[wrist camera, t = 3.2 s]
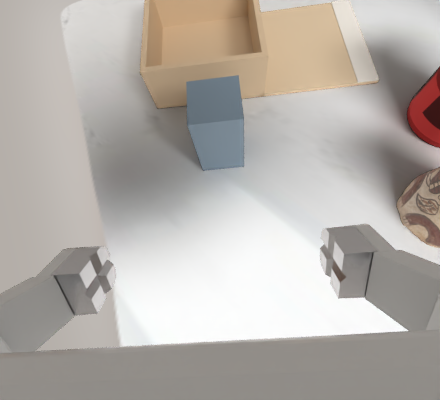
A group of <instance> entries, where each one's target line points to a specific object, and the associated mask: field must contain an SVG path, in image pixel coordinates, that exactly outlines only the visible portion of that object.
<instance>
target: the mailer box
mask: <svg viewBox="0 0 440 400" xmlns="http://www.w3.org/2000/svg"><path fill="white" fill-rule="evenodd" d="M140 73H141V75H142V78H143V80H144V82H145V84H146V86H147V88H148V90H149V92H150V94H151V96H152V98H153V100H154V102H155V105H156V107H157V109H160V108H169V107H177V106H186V105H187V90H186V82H188V81H196V80H204V79H212V78H220V77H228V76H236V75H239V82H240V91H241V99H245V98H254V97H262V96H271V95H279V94H288V93H297V92H305V91H314V90H322V89H331V88H339V87H348V86H356V85H365V84H373V83H378V81H379V77H378V74H377V72H376V69H375V66H374V64H373V61H372V58H371V56H370V53H369V50H368V48H367V45H366V42H365V40H364V37H363V34H362V32H361V29H360V26H359V24H358V21H357V18H356V16H355V13H354V10H353V8H352V5H351V2H350V0H341V1H334V2H331V3H325V4H318V5H310V6H303V7H296V8H289V9H282V10H275V11H267V12H261V11H260V5H259V0H145V3H144V18H143V33H142V48H141V63H140Z"/></svg>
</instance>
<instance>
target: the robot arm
mask: <svg viewBox="0 0 440 400" xmlns="http://www.w3.org/2000/svg"><path fill="white" fill-rule="evenodd" d="M321 239H322V241H323V243H324V245H323V246H322V247H321V248H320V260H321V265H322V268H323V270H324V272H325V274H326V275H328V276H329V277H331V282H330V284H331V286H332V287H333V289H334V291H335V293H336V295H337V297H338V298H360V297H365V299H366V300H368V301H369V302H370V303H372V304H373V305H375V306H376V307H377V308H379V309H380V310H381V311H383V312H384V313H385V314H387V315H388V316H390V317H391V318H392V319H394V320H395V321H396V322H398V323H399V324H400V325H402V326H403V327H404V328H406V329H407V330H409V331H404V332H385V333H368V334H350V335H332V336H313V337H293V338H274V339H254V340H235V341H216V342H198V343H179V344H161V345H142V346H124V347H108V348H107V347H106V348H87V349H68V350H50V351H36V350H37V349H38V348H39V347H40V346H42V345H43V344H44V343H45V342H46V341H47V340H48V339H50V338H51V337H52V336H53V335H54V334H55V333H56V332H57V331H59V330H60V329H61V328H62V327H63V326H64V325H66V324H67V323H68V322H69V321H70V320H71V319H72V318H74V316H75V315H85V314H97V313H98V312H99V310H100V308H101V306H102V305H103V303H104V301H105V300H106V296H105V293H107V292H108V291H109V290H111V289H112V287H113V285H114V283H115V278H116V271H115V267H114V264H112V263H111V262H110V261H109V260H108V259H109V256H110V254H109V251H108V249H107V248H106V247H104V246H97V247H80V248H68V249H64V250H62V251H61V252H60V253H59V254H58V255H57V256H56V257H55V258H54V259H53V260H52V261H51V262H50V263H49V264H48V265H47V266H46V267H45V268H44V269H43V270H42V271H41V272H40V273H39V274H38V275H37V276H36V277H32V278H30V279H27V280H26V281H24V282H22V283H20V284H18V285H16V286H14V287H12V288H10V289H8V290H6V291H5V292H3V293H1V294H0V400H440V265H438V264H436V263H433V262H430V261H428V260H425V259H423V258H420V257H418V256H415V255H413V254H410V253H407V252H405V251H402V250H395V249H394V248H393V247H392V246H391V245H390V244H389V243H388V242H387V241H386V240H385V239H384V238H383V237H382V236H380V235H379V234H378V233H377V232H376V231H375V230H374V229H373V228H372V227H371V226H370V225H368V224H360V225H352V226H344V227H334V228H324V229H323V230H322V233H321Z"/></svg>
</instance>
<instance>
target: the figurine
mask: <svg viewBox="0 0 440 400" xmlns="http://www.w3.org/2000/svg"><path fill="white" fill-rule="evenodd" d="M397 209H398V211H399V214H400V219H401V221H402V224H403V225H404V226H406V227H407V228H408V229H409V230H410V231H411V232H412V233H413V234H414V235H416V236H417V237H418V238H419V239H420V240H421V241H423V242H425V243H426V244H427V245H430V246H434V247H438V248H440V167H439V168H436V169H434V170H431V171H429V172H426V173H424V174H422V175H419V176H418V177H417V178H415V179H414V180H413V181H412V182H411V183H410V185H409V186H408V187H407V188H406V189H405V191H404V192H403V195H402V196H401V197H399V199H398V202H397Z"/></svg>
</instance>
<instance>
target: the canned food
mask: <svg viewBox="0 0 440 400" xmlns="http://www.w3.org/2000/svg"><path fill="white" fill-rule="evenodd" d="M407 119H408V122H409V125H410V127H411V128H412V130H413V131H414V132H415V134H416V135H417V136H418V137H420V138H421V139H422V140H424V141H425V142H427V143H429V144H431V145H433V146H436V147H439V148H440V67H439V68H438V69H437V70H436V71H435V73H434V74H433V75H432V76H431V77H430V78H429V79H428V81H427V82H426V83H425V84H424V85H423V86H422V87H421V89H420V90H419V91H418V92H417V93H416V94H415V95H414V97H413V98H412V100H411V102H410V105H409V107H408V111H407Z"/></svg>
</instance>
